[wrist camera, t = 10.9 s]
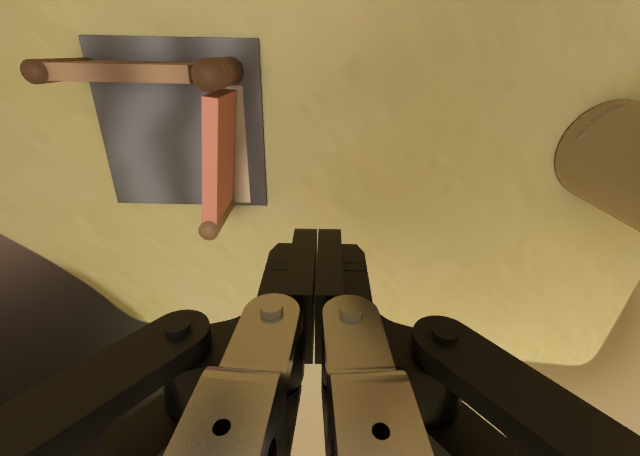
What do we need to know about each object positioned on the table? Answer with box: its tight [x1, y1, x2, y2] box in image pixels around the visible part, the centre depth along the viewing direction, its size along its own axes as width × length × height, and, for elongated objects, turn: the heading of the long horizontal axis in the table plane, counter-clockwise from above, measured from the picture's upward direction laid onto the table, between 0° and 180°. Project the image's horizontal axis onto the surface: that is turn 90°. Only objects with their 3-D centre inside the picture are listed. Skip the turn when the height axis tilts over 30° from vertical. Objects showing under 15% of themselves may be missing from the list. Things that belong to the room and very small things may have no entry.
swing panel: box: [198, 89, 236, 240], centre depth 31 cm, size 12×2×6 cm, turn 172°
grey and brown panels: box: [20, 35, 267, 206], centre depth 31 cm, size 16×15×8 cm
